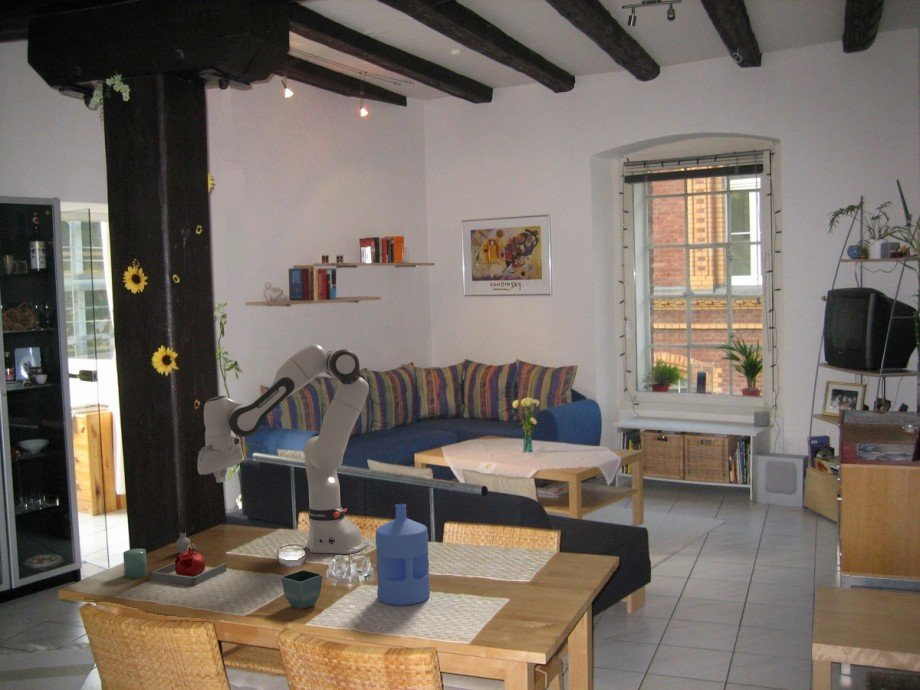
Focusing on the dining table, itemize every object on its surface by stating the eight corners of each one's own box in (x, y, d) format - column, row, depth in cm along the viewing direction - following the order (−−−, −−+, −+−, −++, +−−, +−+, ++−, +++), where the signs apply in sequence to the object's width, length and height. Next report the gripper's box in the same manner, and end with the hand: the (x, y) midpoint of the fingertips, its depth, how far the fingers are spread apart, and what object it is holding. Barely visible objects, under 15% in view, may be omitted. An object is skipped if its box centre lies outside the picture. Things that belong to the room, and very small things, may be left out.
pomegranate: (193, 567, 307) (191, 540, 306) (212, 572, 301) (210, 545, 300) (168, 576, 299) (166, 548, 298) (187, 581, 293) (185, 552, 292)
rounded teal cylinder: (151, 573, 302) (150, 549, 302) (136, 579, 296) (134, 555, 295) (135, 571, 305) (134, 547, 304) (119, 577, 299) (118, 553, 298)
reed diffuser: (182, 557, 319) (179, 501, 318) (165, 555, 321) (162, 500, 320) (199, 549, 329) (196, 494, 328) (183, 547, 331) (180, 493, 330)
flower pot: (304, 598, 274) (303, 569, 273) (324, 604, 268) (323, 574, 267) (281, 606, 267) (280, 576, 266) (301, 613, 261) (300, 582, 261)
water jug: (371, 593, 276) (368, 502, 274) (420, 585, 282) (417, 496, 280) (385, 610, 262) (382, 514, 260) (437, 601, 267) (434, 508, 265)
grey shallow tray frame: (226, 570, 302) (226, 563, 302) (194, 586, 288) (193, 578, 288) (184, 565, 310) (183, 558, 310) (150, 579, 295) (149, 572, 295)
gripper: (206, 448, 307) (209, 489, 308) (243, 437, 325) (245, 476, 327) (191, 448, 309) (194, 488, 310) (229, 437, 328) (231, 475, 329)
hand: (220, 481), depth 319 cm, fingers closed
